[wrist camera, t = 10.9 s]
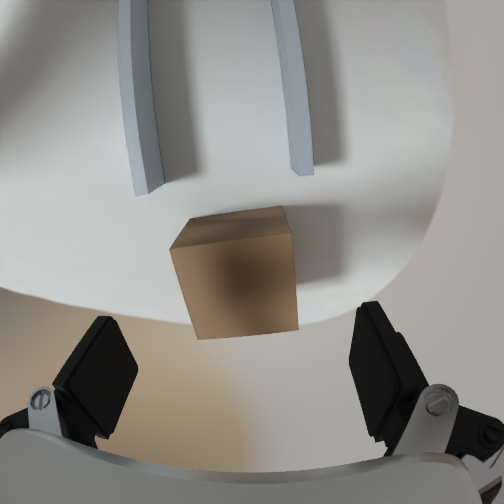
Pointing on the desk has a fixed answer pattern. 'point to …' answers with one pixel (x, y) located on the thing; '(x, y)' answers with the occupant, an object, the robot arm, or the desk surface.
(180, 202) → the desk surface
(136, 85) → the channel
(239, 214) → the walnut block
